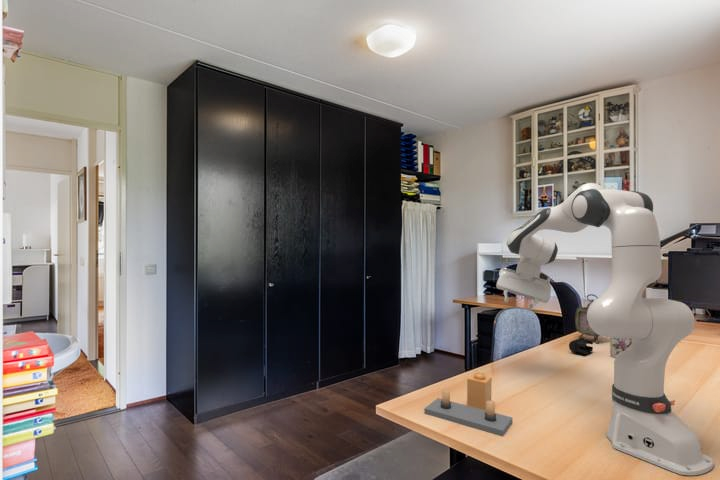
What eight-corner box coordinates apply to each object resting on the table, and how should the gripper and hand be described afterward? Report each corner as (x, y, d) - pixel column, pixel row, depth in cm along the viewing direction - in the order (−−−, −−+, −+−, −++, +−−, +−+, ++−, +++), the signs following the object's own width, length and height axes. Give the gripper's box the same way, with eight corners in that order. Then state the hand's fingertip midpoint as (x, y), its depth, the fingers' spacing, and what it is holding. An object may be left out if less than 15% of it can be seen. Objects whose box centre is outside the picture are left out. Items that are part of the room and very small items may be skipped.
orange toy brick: (491, 404, 130) (491, 373, 130) (485, 410, 125) (485, 379, 125) (473, 400, 133) (473, 370, 133) (467, 406, 128) (467, 375, 128)
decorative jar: (652, 361, 177) (652, 321, 177) (635, 364, 173) (635, 323, 173) (625, 353, 188) (626, 316, 188) (609, 356, 184) (609, 318, 184)
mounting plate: (512, 422, 117) (512, 400, 117) (502, 436, 109) (503, 412, 109) (437, 402, 131) (437, 382, 131) (424, 413, 123) (424, 392, 123)
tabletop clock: (574, 338, 217) (575, 292, 217) (587, 336, 220) (588, 292, 220) (597, 344, 203) (598, 296, 203) (611, 343, 206) (611, 296, 206)
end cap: (577, 349, 195) (577, 336, 194) (593, 353, 189) (593, 339, 189) (568, 353, 188) (568, 339, 188) (584, 357, 183) (584, 342, 183)
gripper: (501, 263, 160) (492, 294, 156) (555, 279, 153) (547, 311, 149) (500, 269, 166) (491, 299, 161) (551, 284, 159) (543, 316, 154)
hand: (518, 305), depth 155 cm, fingers open, 8 cm apart
